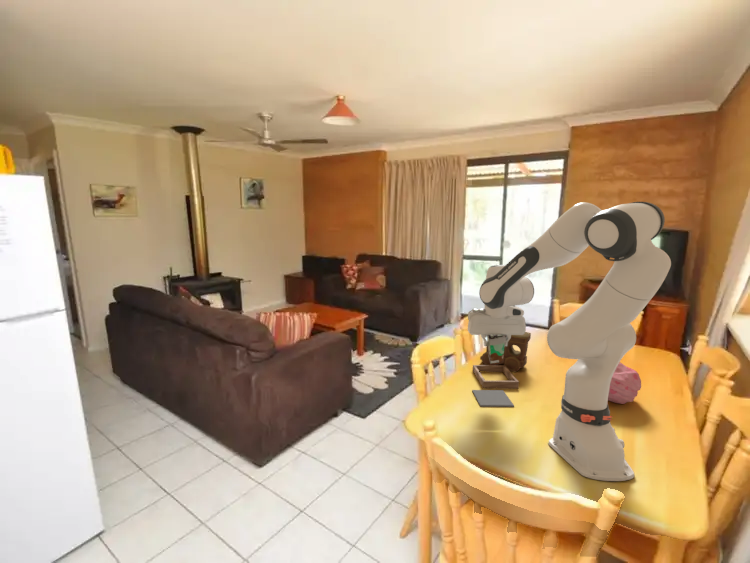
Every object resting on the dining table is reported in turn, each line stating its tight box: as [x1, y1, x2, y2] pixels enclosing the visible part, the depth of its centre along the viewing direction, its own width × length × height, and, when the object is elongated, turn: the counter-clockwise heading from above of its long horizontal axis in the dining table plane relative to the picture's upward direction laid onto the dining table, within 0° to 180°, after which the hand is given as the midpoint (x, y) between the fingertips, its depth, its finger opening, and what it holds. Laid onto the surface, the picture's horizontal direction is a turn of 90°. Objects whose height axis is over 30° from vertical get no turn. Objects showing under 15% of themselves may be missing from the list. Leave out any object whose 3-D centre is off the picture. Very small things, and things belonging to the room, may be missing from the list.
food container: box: [486, 335, 506, 365], centre depth 133 cm, size 12×6×10 cm, turn 168°
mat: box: [471, 389, 515, 408], centre depth 136 cm, size 12×12×1 cm
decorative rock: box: [608, 361, 642, 405], centre depth 133 cm, size 19×14×15 cm
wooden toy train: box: [479, 331, 532, 373], centre depth 166 cm, size 20×11×17 cm, turn 56°
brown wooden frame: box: [472, 364, 520, 390], centre depth 153 cm, size 17×14×3 cm
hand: (495, 345), depth 133 cm, fingers closed on food container, 5 cm apart
